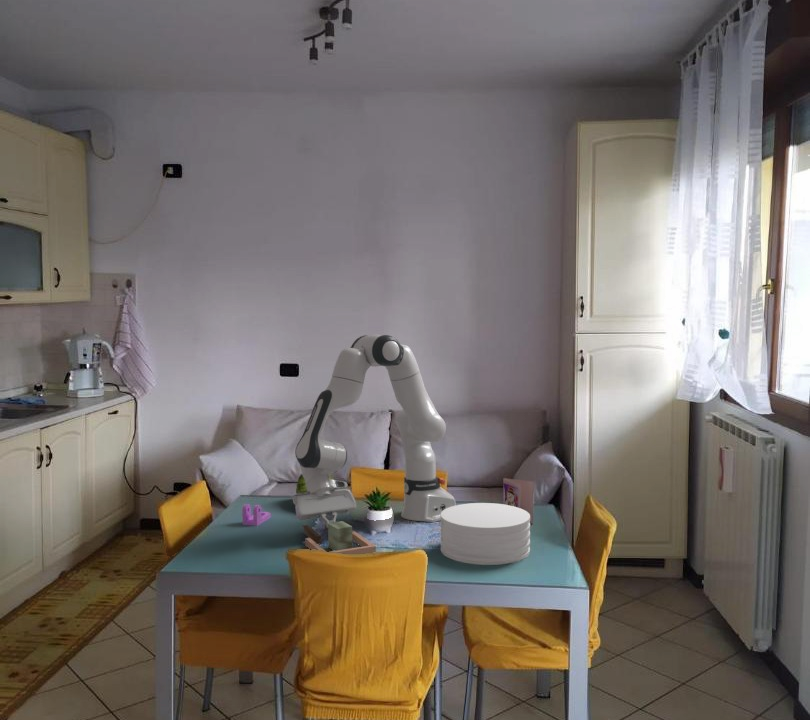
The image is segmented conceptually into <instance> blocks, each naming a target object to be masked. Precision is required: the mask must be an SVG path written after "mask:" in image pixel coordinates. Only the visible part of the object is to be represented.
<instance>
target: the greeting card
mask: <svg viewBox="0 0 810 720" xmlns="http://www.w3.org/2000/svg"><path fill="white" fill-rule="evenodd" d="M502 484H503V485H502V486H503V487H502V489H503V494H502V495H503V497H502V498H503V499H502V500H503V503H502V504H504V505H510V506H514V507H518V508H521V509H523V510H525V511H527V512H528V513H529V514H530V525H531V524H532V525H533V524H534V481H530V480H522V479H515V478H514V479H513V478H505V477H503V483H502Z"/></svg>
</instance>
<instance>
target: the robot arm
mask: <svg viewBox="0 0 810 720" xmlns="http://www.w3.org/2000/svg"><path fill="white" fill-rule="evenodd" d="M370 367H375V368H376V367H385V368H386V370H387V373H388V377H389V380H390V384H391V387H392V390H393V394H394V396H395V399H396V401H397V402H398V404H400V406H401V410H400V411H398V413H397V414H396V418H395V425H396V428H397V429H398V431H399V434H400V438H401V443H402V446H403V452H404V453H403V454H404V468H405V469H404V470H405V471H404V477H403V479H404V480H403V489H404V491H403V492H404V499H403V505H402V510H401V514H400V516H401V518H403V519H406V520H409V521H418V522H427V523H435V522H441V512H442V511H443V510H444V509H446V508H449V507H452V506H456V505H457V503H456V499H455V497H454V496H453V495H452V494H451V493H449V492H448V490H445V489H444V488H443V487H441V485H445V484H446V482H447V481H446V479H445V478H442V477H441V478H439V477H437V475H436V474H437V471H436V468H437V467H436V465H437V463H436V461H437V458H436V454H435V452H434V450H433V448H432V444H431V443H436V442H439V441H441V440H442V439H443V438H444V436H445V434H446V432H447V424H446V422H445V419H444V418H442V416H441V415H440V414H439V413H438V411H437V408H436V407H435V405H434V403H433V401H432V399H431V398H430V396H429V394H428V391H427V389H426V386H425V383H424V380H423V377H422V373H421V371H420V367H419V364H418V361H417V358H416V357H415V355H414V353H413V351H412V349H411V348H410V346H409V345H406V344H402V343H400V341H399V340H398V339H397V338H395V337H394V336H392V335H390V334H389V335H388V334H378V333H374V334H371V335H370V334H369V335H368V334H365V335H361V336H359V337H357V338H356V339H355V340H354V341H353V342H352V344H351V346H350V347H346V348H344V349H342V350H341V351H340V353H339V355H338V357H337V359H336V362H335V364H334V366H333V370H332V375H331V379H330V381H329V384H328V385H327V387H326V388H325V390H323V391H321V392H320V393H319V395H318V396H317V399H316V401H315V403H314V406H313V407H312V408H313V409H312V411H311V413H310V416H309V418H308V421H307V423H306V426H305V428H304V431H303V434H302V436H301V437H300V438H299V441H298V443H297V444H296V446H295V452H294V453H295V454H294V455H295V458H296V460H297V462H298V463H299V466H300V471H301V474H302V475H303V477H304V479H305V481H306V489H307V492H303V493H296V492H295V494H294V495H292V497H291V499H292V502H293V504H294V506H295V508H294V509H295V514H296V517H297V518H296V519H298V520H299V521H303V520H311V519H319V518H320V520H321V521H322V522H323V524H324V525H325V524H326V526H327V528H328V523H334V522H337V521H336V519H337V517H338V515H346V514H352V513H353V514H354V512H355V511H356V508H357V502H356V499H355V496H354V494H353V493H352V490H350V489H349V488H348V487H349V486H348V483H347V482H346V481H344V480H337V479H334V478H333V479H331V477H330V475H332V474H336V473H337V472H338V471H339V470H341V469H343V467H345V465H346V463H347V460H348V451H347V449H346V446H345V445H344V444H343V443H340V442H337V441H332V440H326V439H321V436H322V434H323V431H324V429H325V425H326V422H327V420H328V417H329V416H330V414H332V412H334V411H335V410H338V409H341V408H346V407H350V406H352V405H353V404H355V403H356V402H358V400H360V397H361V395H362V391H363V388H364V382H365V379H366V373H367V371H368V369H369V368H370ZM327 517H331V520H330V519H328V518H327Z"/></svg>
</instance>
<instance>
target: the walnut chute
mask: <svg viewBox="0 0 810 720" xmlns="http://www.w3.org/2000/svg"><path fill="white" fill-rule="evenodd" d="M302 529H303V530H302V532H303V534H304V535H306V536H307V538H311V539H312V540H313V541H314V542H316V543H317V544H318V545H320V544H319V543H321V544H322V535H320V534H319V533H318V532H317V531H316V530H314V529H313V528H312V527H311V526H310V525H308V524H303V525H302ZM324 530H325V531H326V530H327V531H328V528H327V526H326V524H325V523H324ZM327 531H326V532H327Z"/></svg>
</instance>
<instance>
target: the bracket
mask: <svg viewBox="0 0 810 720" xmlns="http://www.w3.org/2000/svg"><path fill="white" fill-rule="evenodd" d="M251 508H252V506H251V504H249V503H248V504H247V503H244V504H243V506H242V525H243V526H254V527H257V526H260V525H261V524H262V523H264V522H265V521H267V520H269V519H270V518H271V512H269V511H262V506H261V504H255V505H253V509H251Z"/></svg>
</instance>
